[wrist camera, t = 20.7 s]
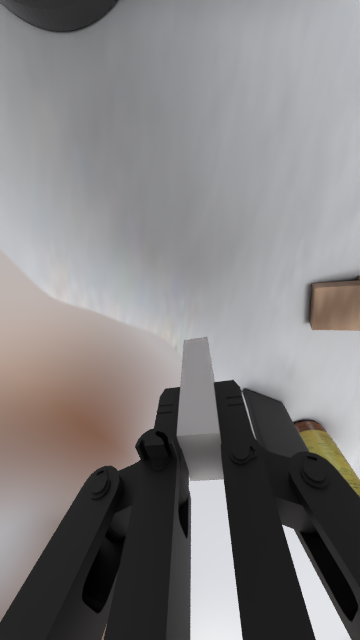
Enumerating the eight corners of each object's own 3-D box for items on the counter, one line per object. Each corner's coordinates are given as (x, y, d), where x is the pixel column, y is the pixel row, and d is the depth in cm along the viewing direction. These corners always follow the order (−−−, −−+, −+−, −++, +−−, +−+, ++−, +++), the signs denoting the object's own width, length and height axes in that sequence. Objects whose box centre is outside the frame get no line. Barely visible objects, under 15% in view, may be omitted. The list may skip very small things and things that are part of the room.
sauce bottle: (279, 423, 32) (394, 673, 14) (322, 414, 31) (507, 674, 13) (286, 450, 34) (392, 695, 16) (326, 443, 33) (488, 698, 15)
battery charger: (230, 404, 31) (249, 491, 21) (242, 386, 30) (270, 470, 19) (270, 419, 32) (308, 510, 22) (284, 402, 31) (333, 491, 20)
